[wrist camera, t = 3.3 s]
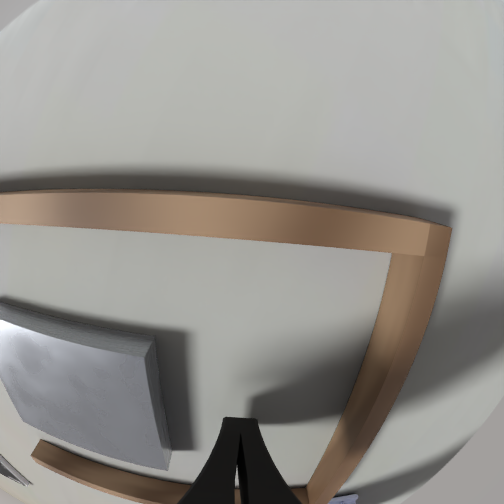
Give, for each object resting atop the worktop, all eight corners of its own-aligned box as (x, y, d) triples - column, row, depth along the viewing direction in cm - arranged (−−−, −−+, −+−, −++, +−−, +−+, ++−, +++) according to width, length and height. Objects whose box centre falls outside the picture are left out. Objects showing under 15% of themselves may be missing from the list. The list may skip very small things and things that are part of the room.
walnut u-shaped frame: (419, 218, 9) (452, 227, 7) (315, 491, 14) (320, 512, 12) (-33, 194, 8) (-58, 200, 6) (45, 446, 13) (36, 462, 11)
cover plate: (158, 329, 11) (143, 357, 9) (173, 444, 12) (167, 470, 11) (-2, 295, 10) (-24, 309, 8) (36, 403, 12) (23, 421, 10)
